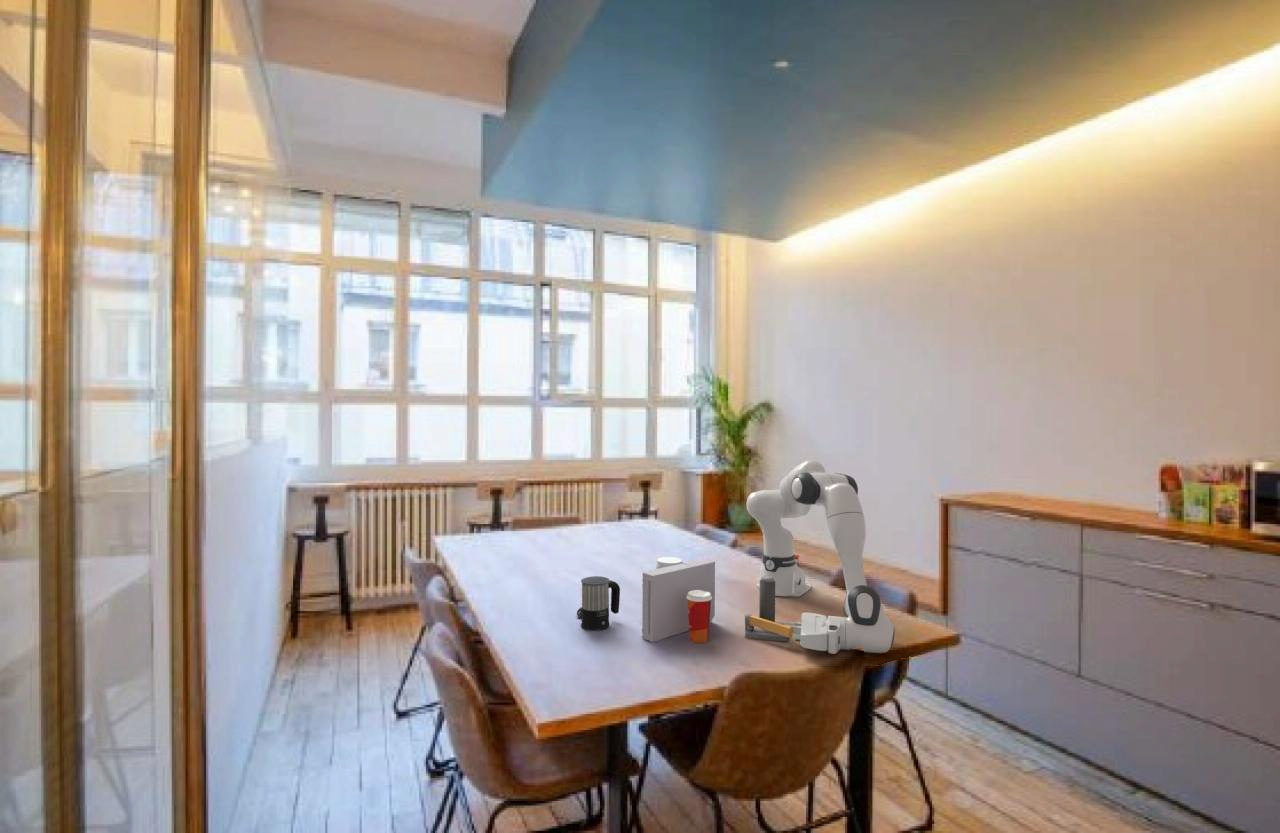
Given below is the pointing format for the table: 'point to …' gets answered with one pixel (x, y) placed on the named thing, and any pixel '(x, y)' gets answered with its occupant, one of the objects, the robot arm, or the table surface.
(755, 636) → the gray angle bracket
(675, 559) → the supplement tub
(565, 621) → the table surface
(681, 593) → the game console
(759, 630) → the plug
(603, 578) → the milk frother
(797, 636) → the pad
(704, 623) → the paper cup
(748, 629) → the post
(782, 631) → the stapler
